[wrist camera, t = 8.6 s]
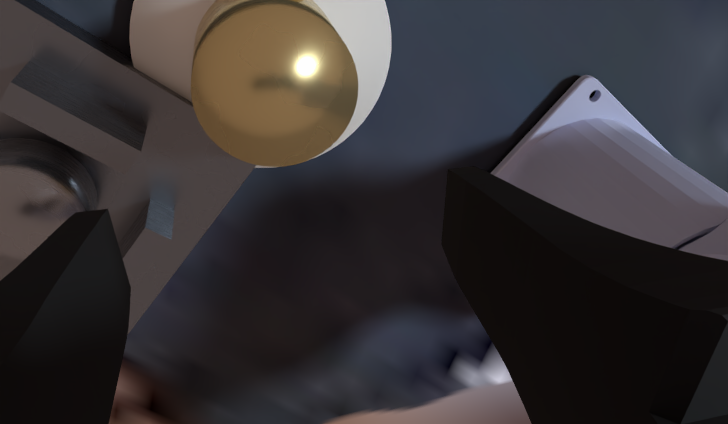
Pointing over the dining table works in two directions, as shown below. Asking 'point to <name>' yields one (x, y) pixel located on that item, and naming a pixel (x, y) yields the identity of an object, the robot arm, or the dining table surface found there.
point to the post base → (101, 151)
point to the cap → (272, 80)
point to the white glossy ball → (189, 4)
